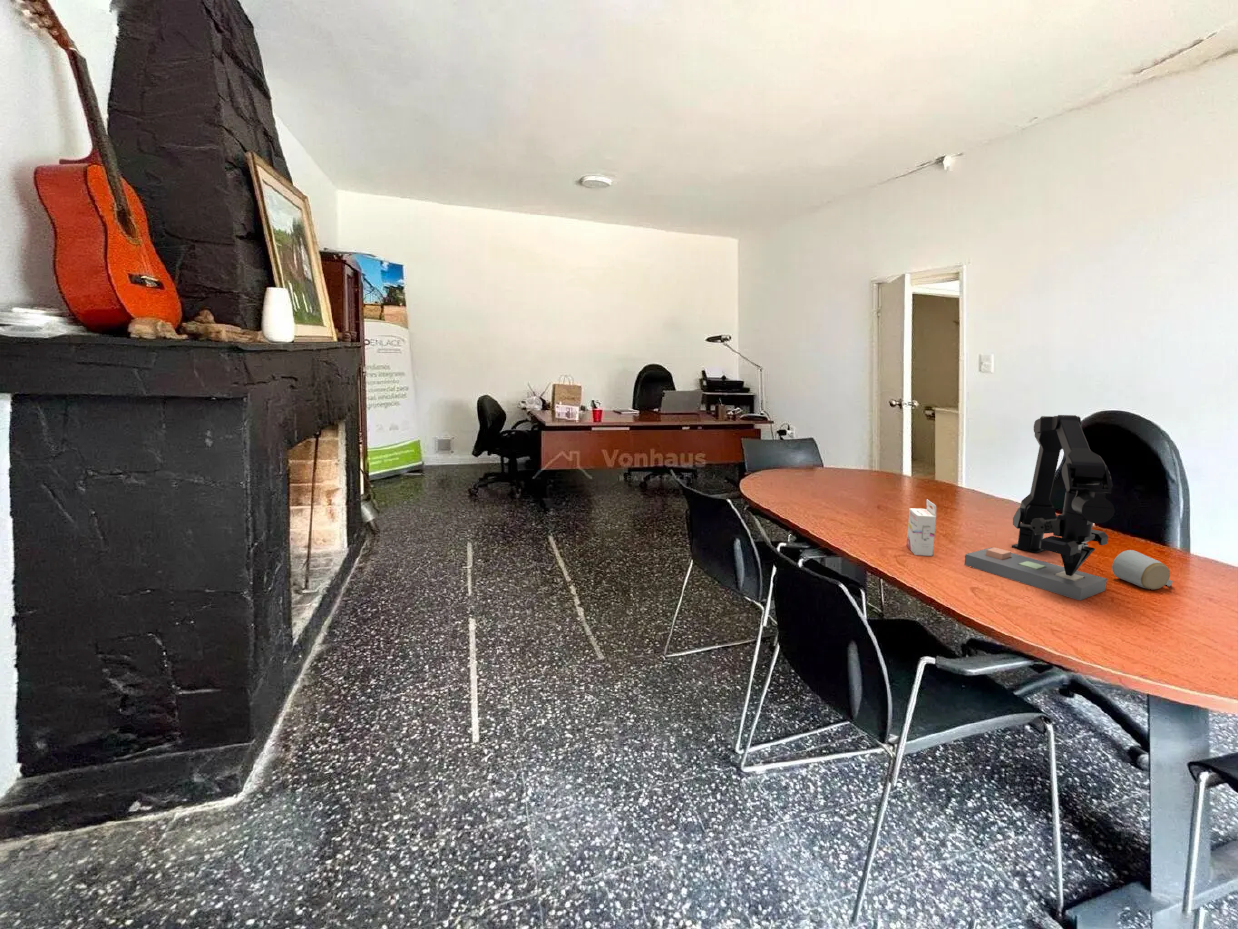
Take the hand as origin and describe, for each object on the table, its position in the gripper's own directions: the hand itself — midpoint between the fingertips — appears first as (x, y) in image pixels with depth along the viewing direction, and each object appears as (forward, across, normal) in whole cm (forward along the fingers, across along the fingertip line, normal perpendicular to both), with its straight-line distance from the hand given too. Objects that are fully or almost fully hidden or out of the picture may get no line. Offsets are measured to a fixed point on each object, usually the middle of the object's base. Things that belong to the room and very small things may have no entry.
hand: (1069, 575), depth 132 cm
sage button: (+3, 0, -8) cm, 8 cm away
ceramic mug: (+4, -19, +8) cm, 21 cm away
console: (+3, 0, -8) cm, 9 cm away
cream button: (+3, 0, 0) cm, 3 cm away
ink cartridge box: (+4, +6, -34) cm, 35 cm away
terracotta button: (+1, 0, -16) cm, 16 cm away
